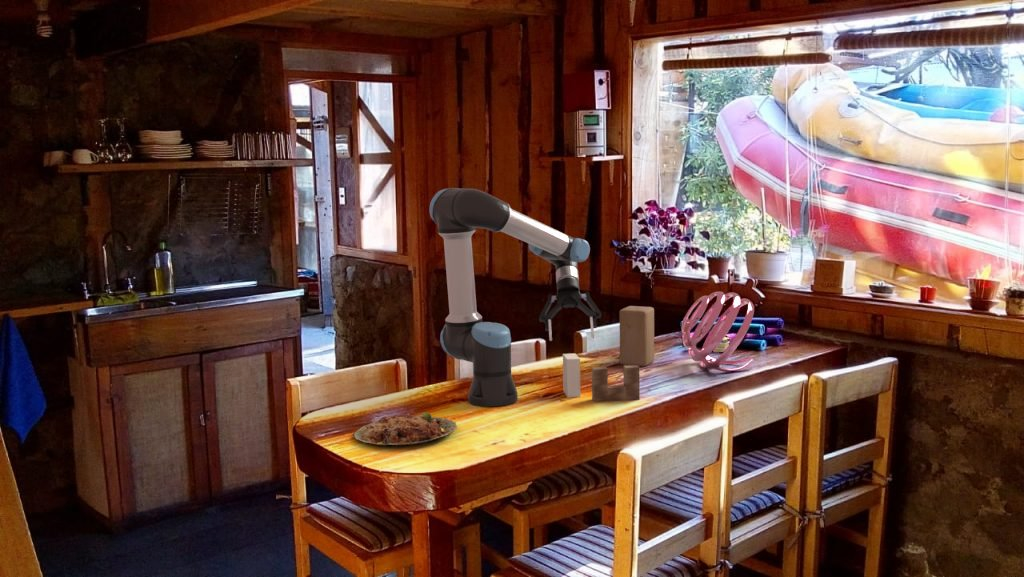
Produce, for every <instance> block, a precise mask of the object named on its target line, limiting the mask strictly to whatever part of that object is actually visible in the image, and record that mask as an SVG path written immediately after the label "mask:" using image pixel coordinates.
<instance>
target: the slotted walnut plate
mask: <svg viewBox="0 0 1024 577" xmlns="http://www.w3.org/2000/svg"><path fill="white" fill-rule="evenodd" d="M608 375H609V374H608V368H607V366H592V367H591V388H592V389H591V391H592V392H591V398H592V399H591V400H592V401H593V402H594V403H595V402H596V403H597V402H616V401H617V402H618V401H620V402H621V401H637V400H640V393H641V392H640V389H641V387H640V382H641V381H640V366H637V365H623V384H616V385H614V384H613V385H611V384H610V385H609V384H608V382H609V381H608V379H609V378H608V377H609V376H608Z"/></svg>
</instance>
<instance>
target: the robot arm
mask: <svg viewBox="0 0 1024 577" xmlns="http://www.w3.org/2000/svg"><path fill="white" fill-rule="evenodd" d="M429 215H430V218H431V219H432V221H434V223H435V224H437V233H438V235H439V236H440V237H442V239H443V245H444V246H443V247H444V248H443V249H444V259H445V260H444V261H445V271H446V272H445V273H446V284H447V295H448V296H447V297H448V309H449V311H448V312H449V314H448V315H447V316H446V318H445V320H444V321H445V324H444V326H443V328H442V330H441V332H440V336H439V337H440V338H439V340H440V345H441V348H442V349H443V351H444V352H445V353H446V354H447V355H449V357H450V356H451V357H452V358H454V359H457V360H462V361H466V362H469V363H472V369H473V370H472V371H473V372H472V374H473V376H472V380H471V384H470V387H469V390H468V396H467V398H468V403H469V404H471V405H475V406H478V407H501V406H503V407H505V406H508V405H512V404H514V403H516V402H517V401H518V400H519V399H518V398H519V397H518V391H517V388H516V385H515V382H514V378H513V375H512V337H511V331H510V329H509V327H508V326H506V325H505V324H502V323H498V322H491V321H483V316H482V315H481V314H480V313H479V312H478V310H477V298H476V297H477V295H476V282H475V272H474V271H475V270H474V257H473V246H472V245H473V244H472V237H473V234H474V233H475V232H476V228H477V229H485V230H487V231H491V232H492V233H493V232H494V233H498V232H501V233H504V234H506V235H508V236H511V237H513V238H515V239H518V240H520V241H523V242H525V243H527V244H528V250H529V251H530V252H532V253H533V254H534V255H536V256H537V257H540V258H541V259H544V260H545V261H547V262H549V263H550V264H552V265H554V266H555V267H554V268H555V281H556V295H552V294H551V293H548V294H547V300H546V301H545V302H546V303H545V305H544V306H543V309H542V310H541V313H540V314H539V316H538V318H539V319H538V320H539V322H540V323H544V327H545V328H544V329H545V332H548V337H549V341H550V342H552V341H553V337H552V333H553V332H552V320H553V319H554V317H555V316H556V315H557V313H559V311H561V310H562V309H563V308H565V309H568V308H575V307H576V308H577V309H579V310H581V311H582V312H583V313H584V314H585V315H586V316H587V317H589V324H590V334H591V335H590V336H591V339H594V338H595V332H594V331H595V330H594V329H597V325H598V324H597V319H601V318H602V312H601V310H600V308H598V306H597V304H595V302H594V301H593V299H592V297H591V295H590V292H589V291H585V293H581V292H580V278H579V277H580V276H579V269H578V263H582V262H585V261H586V260H587V259H588V258H589V255H590V251H591V247H590V244H589V242H588V241H587V240H585V239H584V238H583V239H582V238H579V237H578V238H577V237H572V236H570V235H568V234H566V233H563V232H561V231H559V230H558V229H555V228H553V227H551V226H549V225H546V224H545V223H543V222H540V221H538V220H536V219H533V218H532V217H530V216H528V215H525V214H523V213H521V212H519V211H517V210H515V209H512V208H511V205H510V204H509V203H508V202H505V201H503V200H501V199H499V198H497V197H496V196H493V195H492V194H489V193H487V192H485V191H483V190H480V189H477V188H457V187H450V188H444V189H441V190H438V191H437V192H436V193H435V194H434V195H433V197H432V199H431V201H430V203H429ZM582 299H583V301H586V303H587V304H588V306H589V307H590V308H591V309H590V308H589V307H588V306H587V305H586V304H584V303H583V302H582ZM555 301H556V304H555V305H554V306H553V308H552V309H551V310H550V308H551V306H552V303H555ZM549 310H550V311H549Z"/></svg>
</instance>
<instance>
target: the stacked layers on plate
mask: <svg viewBox="0 0 1024 577" xmlns="http://www.w3.org/2000/svg"><path fill="white" fill-rule="evenodd" d="M729 339H730V337H728V336H727V337H726V336H725V337H724V338H723V340H722V341H721V342H720V344H719V345H718V346H717V347H716V348H715V349H714V350H713V352H712V353H719V352H724V351H725V350H726V349H727V347H728V346H729V345H730V343H731V341H730V340H729Z"/></svg>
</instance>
